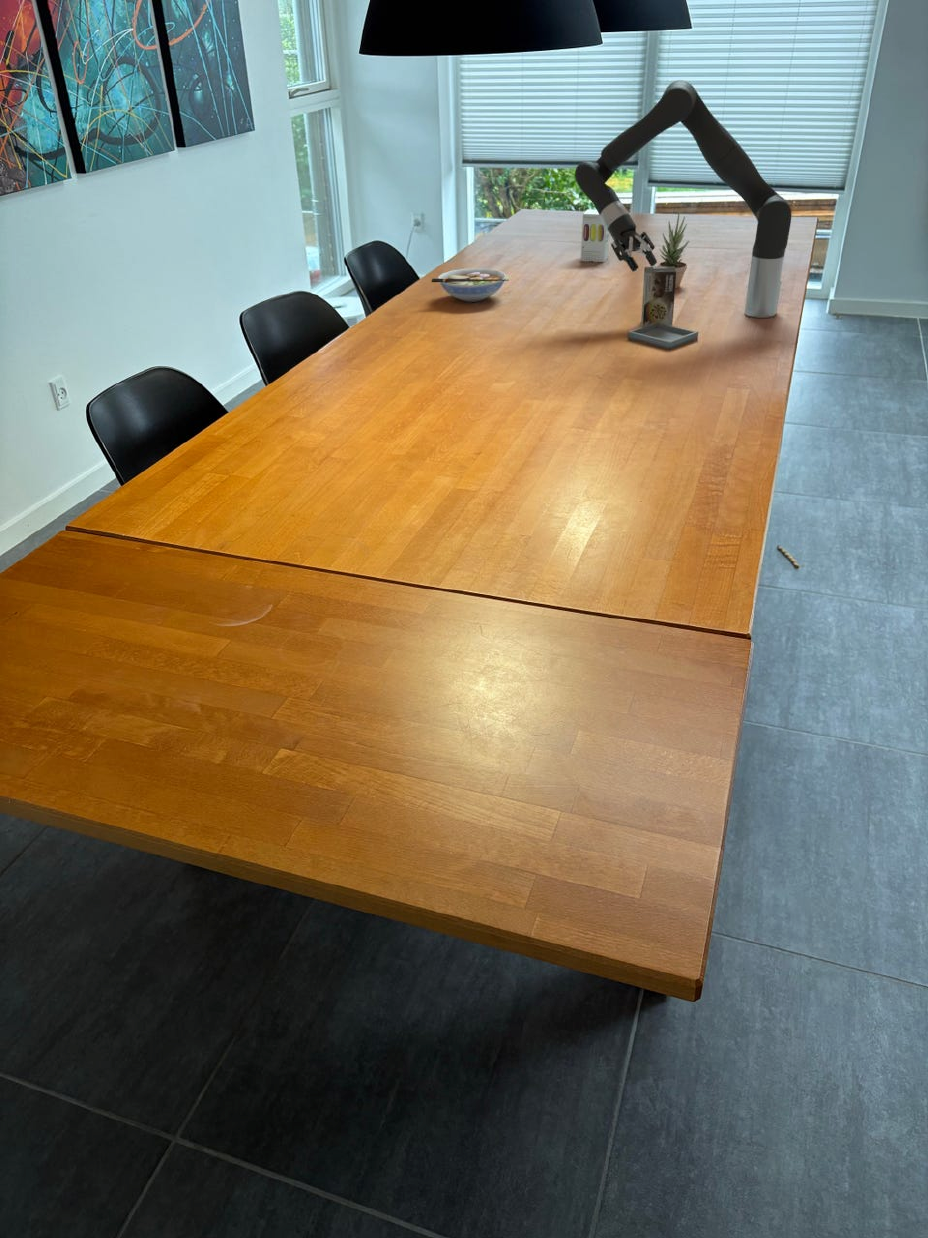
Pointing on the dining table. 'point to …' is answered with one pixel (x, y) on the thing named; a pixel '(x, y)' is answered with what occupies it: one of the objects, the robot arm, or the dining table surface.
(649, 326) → the tray
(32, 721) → the dining table surface
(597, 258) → the supplement box
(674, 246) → the potted plant
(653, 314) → the coffee box
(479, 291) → the ramen bowl
